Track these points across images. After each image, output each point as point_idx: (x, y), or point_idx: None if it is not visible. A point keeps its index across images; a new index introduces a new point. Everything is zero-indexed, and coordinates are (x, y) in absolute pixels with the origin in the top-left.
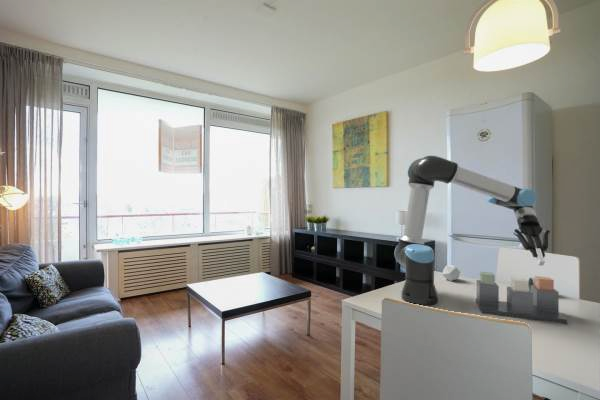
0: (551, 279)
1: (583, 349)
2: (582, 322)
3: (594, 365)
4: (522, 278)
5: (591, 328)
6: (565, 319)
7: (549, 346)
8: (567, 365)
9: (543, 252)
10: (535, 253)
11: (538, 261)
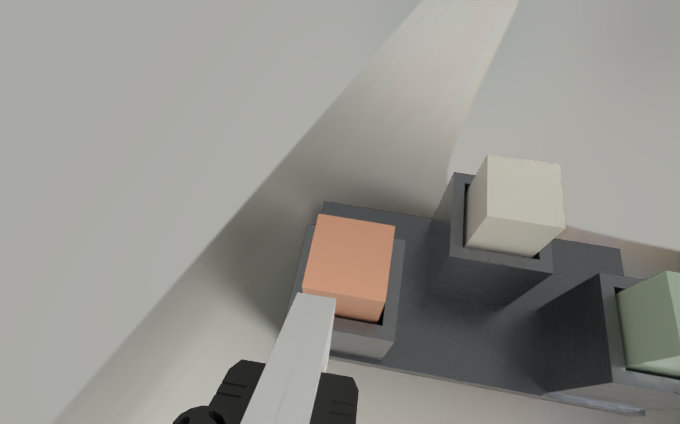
0: (323, 226)
1: (390, 63)
2: (257, 234)
3: (411, 12)
4: (500, 215)
5: (267, 186)
6: (330, 202)
7: (463, 63)
8: (464, 5)
9: (223, 398)
10: (333, 399)
11: (327, 352)
